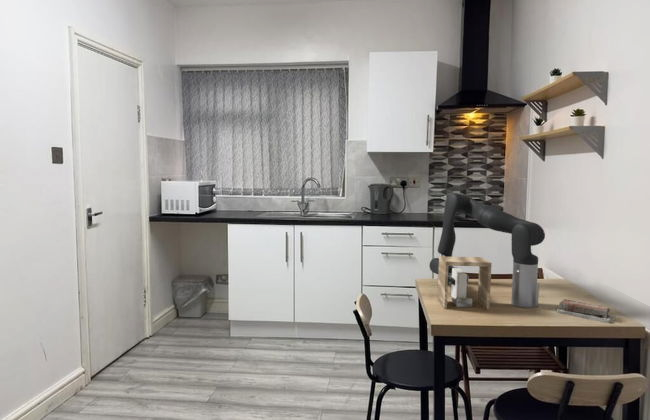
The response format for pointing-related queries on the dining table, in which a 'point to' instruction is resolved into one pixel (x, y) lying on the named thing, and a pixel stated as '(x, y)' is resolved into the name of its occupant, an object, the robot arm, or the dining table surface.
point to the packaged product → (585, 311)
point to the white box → (459, 283)
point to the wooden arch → (483, 281)
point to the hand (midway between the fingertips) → (458, 282)
